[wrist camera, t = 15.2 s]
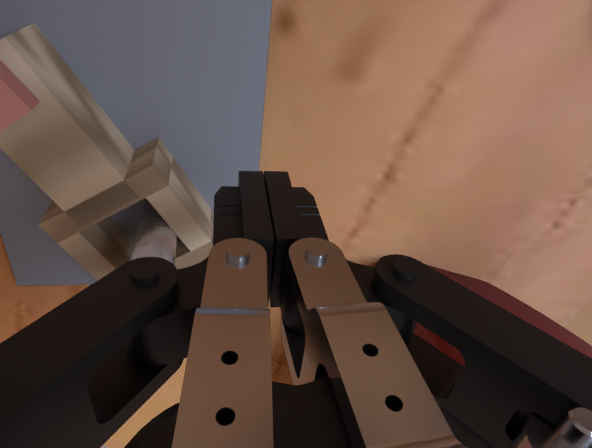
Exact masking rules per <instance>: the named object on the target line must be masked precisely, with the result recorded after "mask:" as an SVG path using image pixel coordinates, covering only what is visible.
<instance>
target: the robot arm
mask: <svg viewBox="0 0 592 448" xmlns="http://www.w3.org/2000/svg"><path fill="white" fill-rule="evenodd" d="M269 300H270V307H280V308H281V323H280V332H281V337H282V341H283V345H284V349H285V353H286V357H287V361H288V365H289V369H290V373H291V378H292V382H293V385H289V384H283V383H277V382H272V368H271V329H270V310H269V309H268V302H269ZM417 323H419V324H420V325H422V326H424V327H425V328H427V329H428V330H430V331H431V332H433V333H434V334H436V335H437V336H439V337H440V338H442V339H443V340H445V341H446V342H448V343H449V344H451V345H453V346H454V347H455V348H457V349H458V350H459V351H460V352H461V354H462V355H463V357H464V360H465V365H463V364H460V363H458V362H457V361H455V360H454V359H452V358H451V357H449V356H448V355H446V354H445V353H443V352H442V351H440V350H439V349H437V348H436V347H434V346H433V345H431V344H430V343H428V342H427V341H425V340H424V339H422V338H421V337H419V336H418V335H416V334H415V333H414V330H415V327H416V325H417ZM186 357H187V362H186V368H185V374H184V380H183V385H182V391H181V397H180V403H177V404H175V405H173V406H172V407H170V408H168V409H166V410H165V411H163V412H162V413H160V414H159V415H158V416H156V417H155V418H153V419H152V420H151V421H150V422H149V423H147V424H146V425H145V426H144V427H143V428H142V429H141V430H140V431H139V432H138V433H137V434H136V435H135V436H134V437H133V438H132V439H131V440H130V442H129V443H128V444H127V445H126V446H125V447H124V448H592V358H590V357H588V356H586V355H585V354H583V353H581V352H579V351H578V350H576V349H574V348H572V347H571V346H569V345H567V344H565V343H563V342H562V341H560V340H558V339H556V338H555V337H553V336H551V335H549V334H547V333H546V332H544V331H542V330H540V329H539V328H537V327H535V326H533V325H532V324H530V323H528V322H526V321H524V320H523V319H521V318H519V317H517V316H516V315H514V314H512V313H510V312H508V311H507V310H505V309H503V308H501V307H500V306H498V305H496V304H494V303H493V302H491V301H489V300H487V299H485V298H484V297H482V296H480V295H478V294H477V293H475V292H473V291H471V290H469V289H468V288H466V287H464V286H462V285H461V284H459V283H457V282H455V281H454V280H452V279H450V278H448V277H446V276H445V275H443V274H441V273H439V272H438V271H436V270H434V269H432V268H430V267H429V266H427V265H425V264H423V263H422V262H420V261H418V260H416V259H414V258H411V257H408V256H405V255H396V254H395V255H387V256H384V257H382V258H381V259H380V260H379V261H378V262H377V265H376V268H375V267H371V266H366V265H361V264H357V263H353V262H350V261H348V260H346V259H345V257H344V255H343V253H342V251H341V249H340V248H339V247H338V246H336V245H335V244H334V243H332V242H330V241H329V240H328V237H327V234H326V231H325V228H324V225H323V222H322V219H321V217H320V216H319V211H318V208H317V205H316V202H315V199H314V196H313V195H312V194H311V193H309V192H308V191H307V190H306V189H305V188H304V187H292V186H291V182H290V179H289V175H288V172H279V171H264V173H263V172H262V171H239V174H238V186H221V187H220V189H219V190H218V191H217V192H216V193H215V195H214V222H213V247H212V248H211V250H210V252H209V256H208V257H207V258H206V259H204V260H203V261H201V262H199V263H198V264H195V265H193V266H189V267H186V268H181V269H177V268H176V267H175V265H174V264H173V263H171V262H170V261H168V260H166V259H163V258H159V257H142V258H137V259H133V260H131V261H128V262H126V263H125V264H123V265H121V266H120V267H118V268H117V269H115V270H113V271H112V272H110V273H109V274H107V275H106V276H104V277H103V278H101V279H100V280H98V281H96V282H95V283H93V284H92V285H90V286H89V287H87V288H86V289H84V290H82V291H81V292H79V293H78V294H76V295H75V296H73V297H72V298H70V299H69V300H67V301H65V302H64V303H62V304H61V305H59V306H58V307H56V308H55V309H53V310H52V311H50V312H48V313H47V314H45V315H44V316H42V317H41V318H39V319H38V320H36V321H35V322H33V323H31V324H30V325H28V326H27V327H25V328H24V329H22V330H21V331H19V332H17V333H16V334H14V335H13V336H11V337H10V338H8V339H7V340H5V341H4V342H2V343H0V448H100V447H101V446H102V445H103V444H104V443H105V442H106V441H107V440H108V439H109V438H110V437H111V436H112V435H113V434H114V433H115V432H116V431H117V430H118V429H119V428H120V427H121V426H122V425H123V424H124V423H125V422H126V421H127V420H128V419H129V418H130V417H131V416H132V415H133V414H134V413H135V412H136V411H137V410H138V409H139V408H140V407H141V406H142V405H143V404H144V403H145V402H146V401H147V400H148V399H149V398H150V397H151V396H152V395H153V394H154V393H155V392H156V391H157V390H158V389H159V388H160V387H161V386H162V385H163V384H164V383H165V382H166V381H167V380H168V379H169V378H170V377H171V376H172V375H173V374H174V373H175V372H176V371H177V370H178V369H179V367H180V366H181V364H182V362H183V359H184V358H186Z"/></svg>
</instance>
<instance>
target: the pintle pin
mask: <svg viewBox="0 0 592 448" xmlns="http://www.w3.org/2000/svg"><path fill="white" fill-rule="evenodd" d="M176 246H177V235H176V233H175V232H174V231H173V230H172V229H171V227H170V226H169V225H168V224H167V223H166V221H165V220H164V219H163V218H162V217H161V215H160V214H159V213H158V212H157V211H156V209H155V208H154V207H153V206H152V204H151V203H150V202H149V201H148V200H147V198H146V199H145V201H144V205H143V209H142V214H141V218H140V222H139V226H138V231H137V235H136V239H135V243H134V247H133V252H132V256H131V260H133V259H137V258H142V257H159V258H163V259H166V260H168V261H170V262H171V263H173V264H174V265H175V256H176ZM131 260H130V261H131Z"/></svg>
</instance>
